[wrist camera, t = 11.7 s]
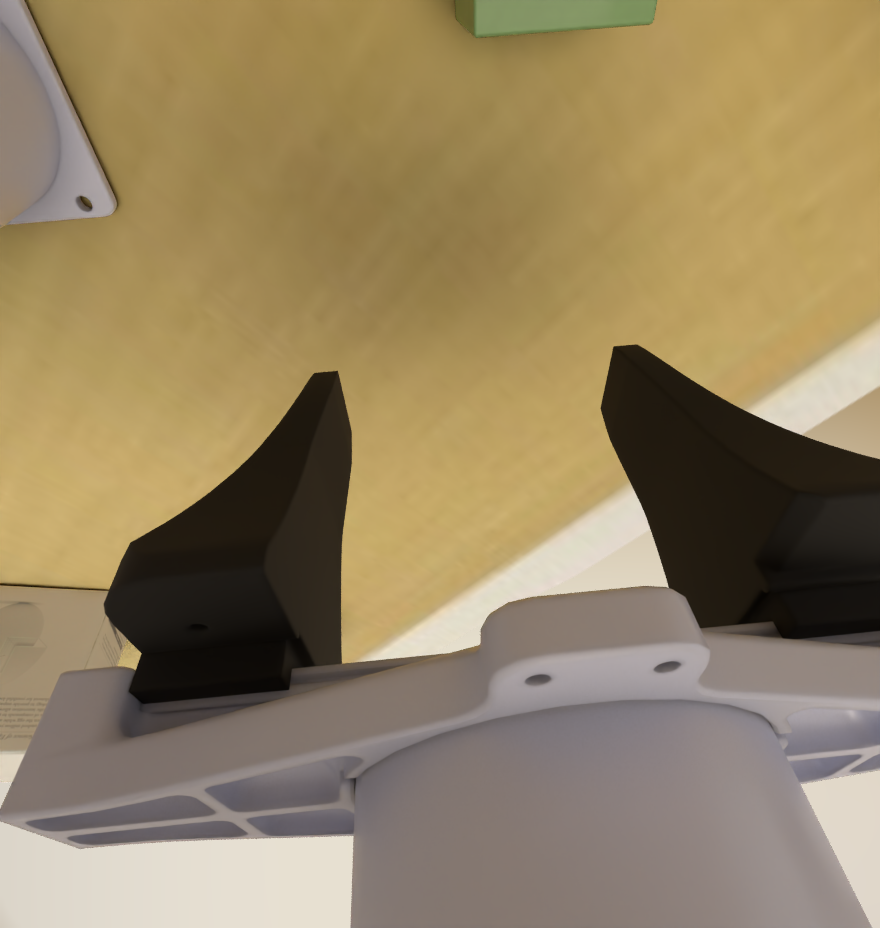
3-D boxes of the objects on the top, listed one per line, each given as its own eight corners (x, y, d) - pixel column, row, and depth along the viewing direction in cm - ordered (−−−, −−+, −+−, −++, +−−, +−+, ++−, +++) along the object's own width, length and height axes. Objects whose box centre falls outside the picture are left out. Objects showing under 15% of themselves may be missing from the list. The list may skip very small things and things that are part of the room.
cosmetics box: (-23, 627, 39) (-121, 790, 31) (-58, 579, 34) (-180, 754, 27) (132, 634, 41) (76, 787, 33) (118, 590, 37) (50, 753, 29)
